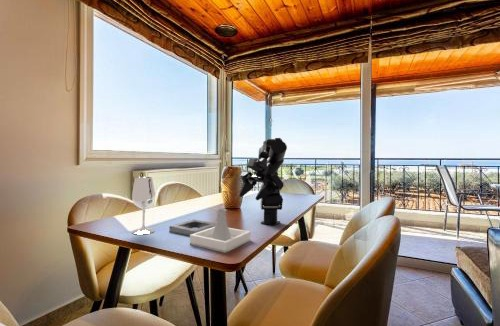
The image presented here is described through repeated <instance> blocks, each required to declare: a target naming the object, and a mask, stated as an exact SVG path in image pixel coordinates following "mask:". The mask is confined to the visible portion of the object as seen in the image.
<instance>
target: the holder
mask: <svg viewBox="0 0 500 326" xmlns="http://www.w3.org/2000/svg"><path fill="white" fill-rule="evenodd" d="M215 225H216V222H211V221H206V220H205V221H204V220H199V219H192V220H190V219H189V220H186V221H184V222H180V223H175V224H173V225H169V226H168V228H169V231H168V232H170V233H175V234H180V235H184V236H186V237H187V236H189V237H190V235H191V234H194V233H197V232H200V231H203V230H206V229H209V228H212V227H215ZM193 227H197V228H193Z"/></svg>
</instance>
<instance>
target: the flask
mask: <svg viewBox="0 0 500 326" xmlns="http://www.w3.org/2000/svg"><path fill="white" fill-rule="evenodd" d="M226 212H227V209H225V208H217V209H216V213H217V218H216V222H215V223H216V225H215V228H214V231H213V233H212V236H211V238H212V239H217V240H222V241H227V240H229V239H231V234H230V232H229V229H228V228H229V225H228V222H227V219H226Z"/></svg>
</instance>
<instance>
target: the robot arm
mask: <svg viewBox="0 0 500 326" xmlns="http://www.w3.org/2000/svg"><path fill="white" fill-rule="evenodd" d="M258 149H259V150H258V158H253V157H252V158H250V157H249V158H248V161H247V164H246V167H247V168H248V169H251V170H253V171H252V172H251V171H242V172H241V174H240V175H239V177H240V178H241V180H242V185H241V189H240V191H239V194H238V196H239V197H240V198H242V197H244V196H245V195H247V194H248V193H249V192H250V191H252V190H253V189H254V188H255V187H256V185H257V183H261V184H262V186H261V188H260V190H258V193H257V195H256V197H254V198H255V200H256V201H260V209H261V211H262V210H263V221H261V222H260V224H261V225H262V224H263V225H269V226H276V225H278V224H280V223H281V221H278V210H279V211H280V210H283V203H284V199H283V196H282V194H281V191H282V189H283V188H284V182H283V180H282V179H281V178H280V176H279V175H278V174H279V173H278V171H279V169H280V168H281V166H282V165H283V164H284V161H285V159H284V158H285V155H286V151H287V150H288V146H287V144H286V142H285V141H283V139H282V138H281V137H275V138H266V139H265V140H264V141H263V142H262V145H261V147H260V148H258ZM253 174H254V175H253Z"/></svg>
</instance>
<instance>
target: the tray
mask: <svg viewBox="0 0 500 326" xmlns="http://www.w3.org/2000/svg"><path fill="white" fill-rule="evenodd" d="M214 228H215V227H212V228H209V229H206V230H203V231H200V232H197V233H194V234H191V235H190V236H189V245H191V246H194V247H195V246H196V247H199V248H204V249H206V250H212V251H215V252H219V253H224V254H226V253H228V252H230V251H233V250H235V249H237V248H239V247H241V246H242V245H244V244H246V243H249V242H251V237H252V235H251V233H252V232H251V230H250V231H249V230H243V229H239V228H232V227H228V229H229V232H230V234H231V239H229V240H227V241H222V240H217V239H212V238H211V236H212V233H213V231H214Z"/></svg>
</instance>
